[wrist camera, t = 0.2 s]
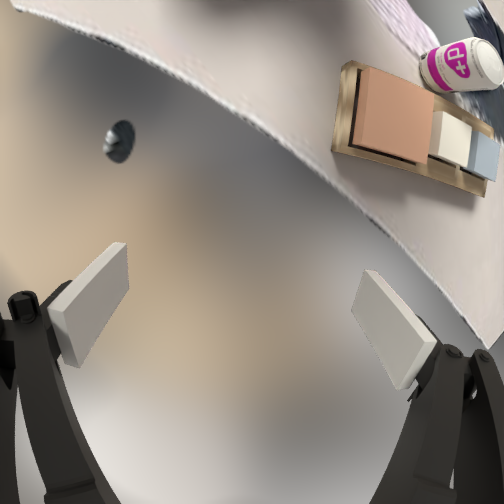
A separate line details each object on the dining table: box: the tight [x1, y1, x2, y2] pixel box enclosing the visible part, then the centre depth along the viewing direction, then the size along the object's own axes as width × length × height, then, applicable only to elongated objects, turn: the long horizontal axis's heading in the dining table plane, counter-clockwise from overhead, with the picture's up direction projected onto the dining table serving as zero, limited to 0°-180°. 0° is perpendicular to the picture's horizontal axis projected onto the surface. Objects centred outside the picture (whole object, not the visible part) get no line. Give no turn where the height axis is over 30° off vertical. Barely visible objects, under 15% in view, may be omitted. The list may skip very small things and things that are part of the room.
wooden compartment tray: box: [331, 60, 494, 198], centre depth 35 cm, size 14×32×4 cm, turn 83°
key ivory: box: [428, 111, 472, 168], centre depth 33 cm, size 7×7×4 cm
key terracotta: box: [352, 67, 434, 164], centre depth 32 cm, size 11×11×4 cm
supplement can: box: [419, 37, 504, 94], centre depth 26 cm, size 8×8×15 cm
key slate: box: [463, 131, 500, 182], centre depth 33 cm, size 7×7×4 cm
